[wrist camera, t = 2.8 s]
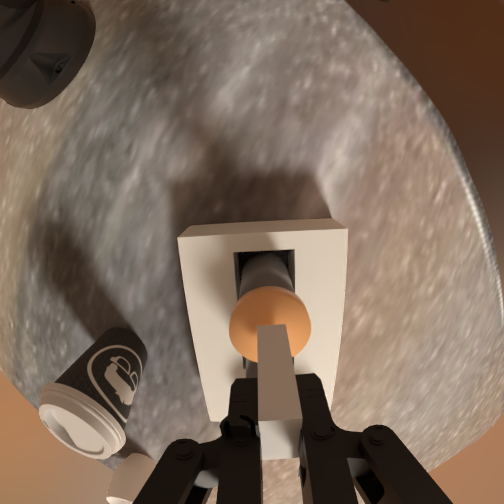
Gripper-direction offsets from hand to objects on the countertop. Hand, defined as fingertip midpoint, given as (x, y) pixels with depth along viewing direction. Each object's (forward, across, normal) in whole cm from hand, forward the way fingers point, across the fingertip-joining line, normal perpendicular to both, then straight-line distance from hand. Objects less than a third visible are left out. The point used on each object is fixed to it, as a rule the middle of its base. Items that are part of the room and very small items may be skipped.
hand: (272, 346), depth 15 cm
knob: (+11, 0, 0) cm, 11 cm away
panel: (+15, 0, -7) cm, 16 cm away
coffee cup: (+15, -18, -11) cm, 26 cm away
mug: (+15, -25, -40) cm, 49 cm away
